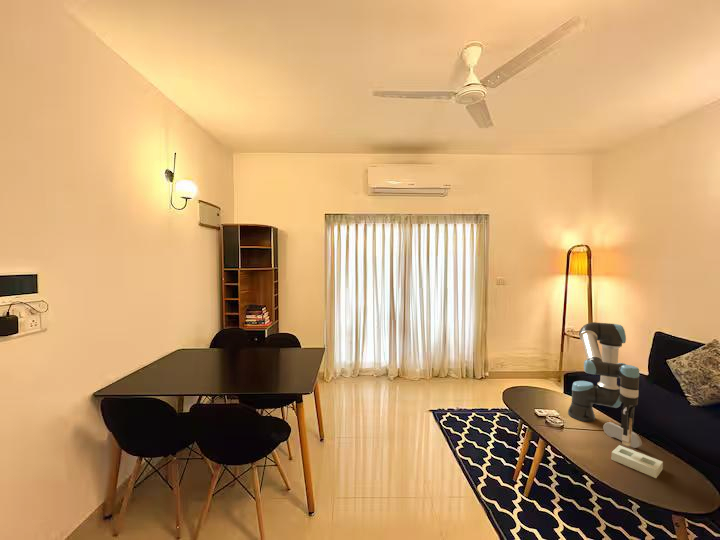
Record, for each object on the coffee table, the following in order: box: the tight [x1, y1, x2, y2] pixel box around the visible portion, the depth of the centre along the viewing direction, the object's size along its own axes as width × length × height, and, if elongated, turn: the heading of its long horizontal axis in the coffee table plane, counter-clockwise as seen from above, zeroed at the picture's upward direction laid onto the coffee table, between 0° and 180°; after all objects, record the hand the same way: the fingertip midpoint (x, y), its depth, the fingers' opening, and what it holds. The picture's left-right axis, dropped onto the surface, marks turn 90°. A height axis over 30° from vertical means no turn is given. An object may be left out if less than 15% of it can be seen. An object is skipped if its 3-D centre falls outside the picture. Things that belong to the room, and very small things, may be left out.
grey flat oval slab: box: [602, 421, 643, 449], centre depth 191 cm, size 20×2×8 cm, turn 20°
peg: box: [621, 418, 633, 447], centre depth 172 cm, size 4×4×14 cm
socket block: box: [610, 444, 664, 479], centre depth 169 cm, size 12×18×4 cm, turn 36°
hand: (626, 439), depth 172 cm, fingers closed on peg, 3 cm apart
